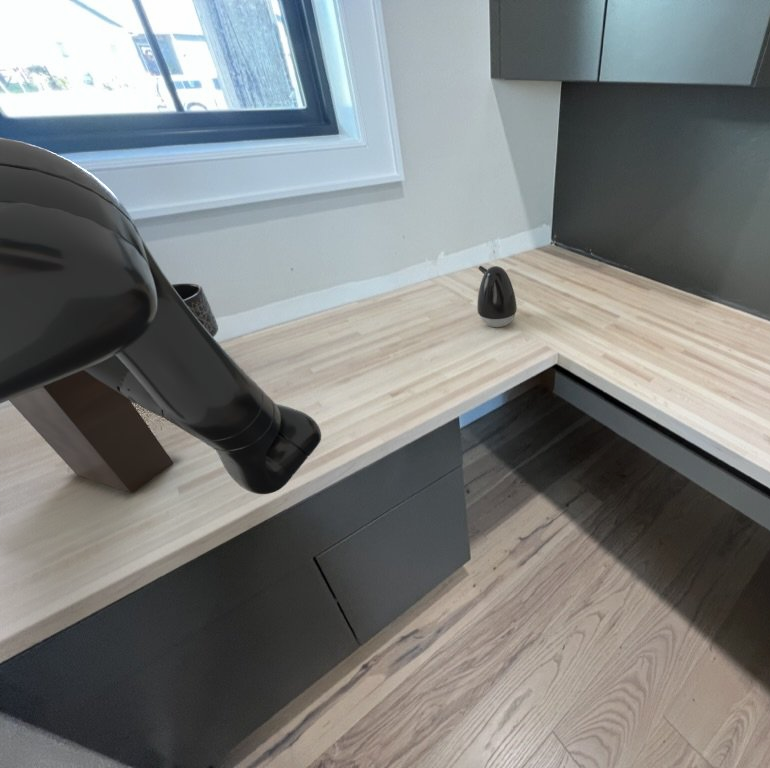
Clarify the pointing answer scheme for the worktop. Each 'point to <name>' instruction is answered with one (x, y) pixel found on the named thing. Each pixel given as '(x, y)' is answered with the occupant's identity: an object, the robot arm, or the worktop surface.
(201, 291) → the planter
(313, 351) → the worktop surface
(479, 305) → the pump dispenser
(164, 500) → the worktop surface
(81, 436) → the stand
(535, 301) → the worktop surface
